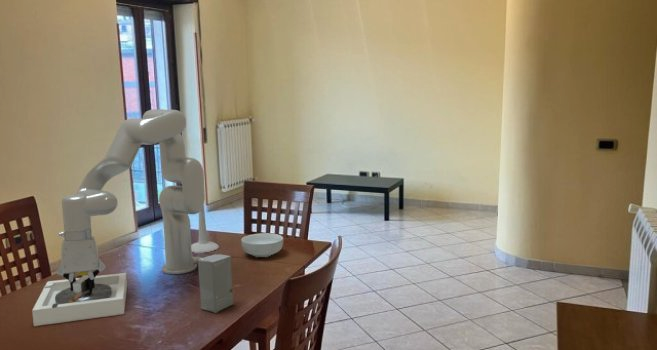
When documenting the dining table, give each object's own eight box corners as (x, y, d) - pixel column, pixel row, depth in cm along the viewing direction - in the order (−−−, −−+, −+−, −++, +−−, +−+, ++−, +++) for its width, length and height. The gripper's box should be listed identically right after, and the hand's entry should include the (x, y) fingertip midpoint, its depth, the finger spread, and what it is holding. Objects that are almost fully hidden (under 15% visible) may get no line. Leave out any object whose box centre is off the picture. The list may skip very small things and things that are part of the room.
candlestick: (194, 243, 228) (191, 176, 223) (223, 244, 226) (220, 176, 221) (182, 252, 215) (178, 181, 210) (212, 253, 213) (209, 181, 209)
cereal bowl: (291, 252, 214) (291, 236, 213) (266, 264, 200) (265, 246, 199) (259, 246, 223) (259, 230, 222) (233, 257, 209) (232, 240, 208)
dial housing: (127, 286, 179) (125, 271, 178) (123, 314, 156) (122, 297, 155) (48, 295, 171) (47, 280, 170) (33, 326, 148) (31, 309, 148)
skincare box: (215, 314, 156) (213, 263, 153) (198, 308, 159) (195, 259, 157) (234, 304, 163) (233, 255, 160) (218, 299, 166) (215, 251, 164)
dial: (72, 287, 171) (70, 270, 170) (120, 287, 171) (118, 270, 170) (44, 307, 156) (42, 288, 155) (96, 308, 155) (95, 288, 154)
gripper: (45, 240, 154) (51, 299, 156) (106, 235, 159) (111, 292, 162) (50, 234, 161) (55, 290, 163) (108, 229, 166) (112, 284, 169)
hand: (83, 291), depth 163 cm, fingers closed on dial, 3 cm apart
